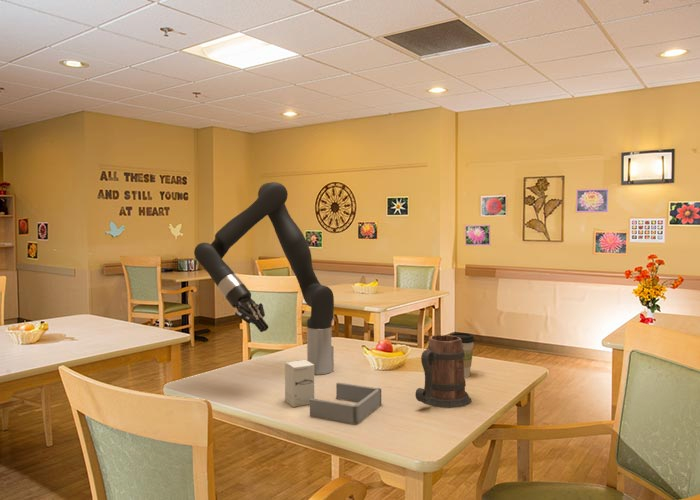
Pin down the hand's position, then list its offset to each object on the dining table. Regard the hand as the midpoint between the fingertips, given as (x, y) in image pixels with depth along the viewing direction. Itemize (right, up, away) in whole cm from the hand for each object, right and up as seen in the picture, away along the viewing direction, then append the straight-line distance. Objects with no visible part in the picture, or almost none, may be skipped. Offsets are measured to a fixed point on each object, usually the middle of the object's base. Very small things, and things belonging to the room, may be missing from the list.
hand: (265, 329), depth 175 cm
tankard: (+56, -22, -5) cm, 61 cm away
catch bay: (+26, -23, -12) cm, 37 cm away
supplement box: (+12, -22, -6) cm, 26 cm away
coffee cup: (+69, -21, +24) cm, 76 cm away
